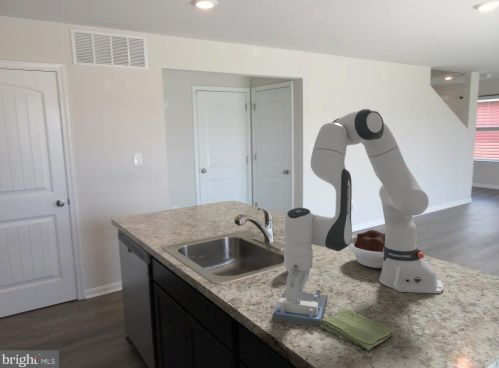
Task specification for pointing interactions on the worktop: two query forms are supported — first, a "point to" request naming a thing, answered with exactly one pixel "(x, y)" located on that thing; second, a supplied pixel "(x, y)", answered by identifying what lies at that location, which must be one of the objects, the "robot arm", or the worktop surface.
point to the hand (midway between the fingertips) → (298, 302)
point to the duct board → (303, 318)
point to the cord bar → (298, 306)
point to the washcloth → (357, 329)
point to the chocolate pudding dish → (368, 248)
